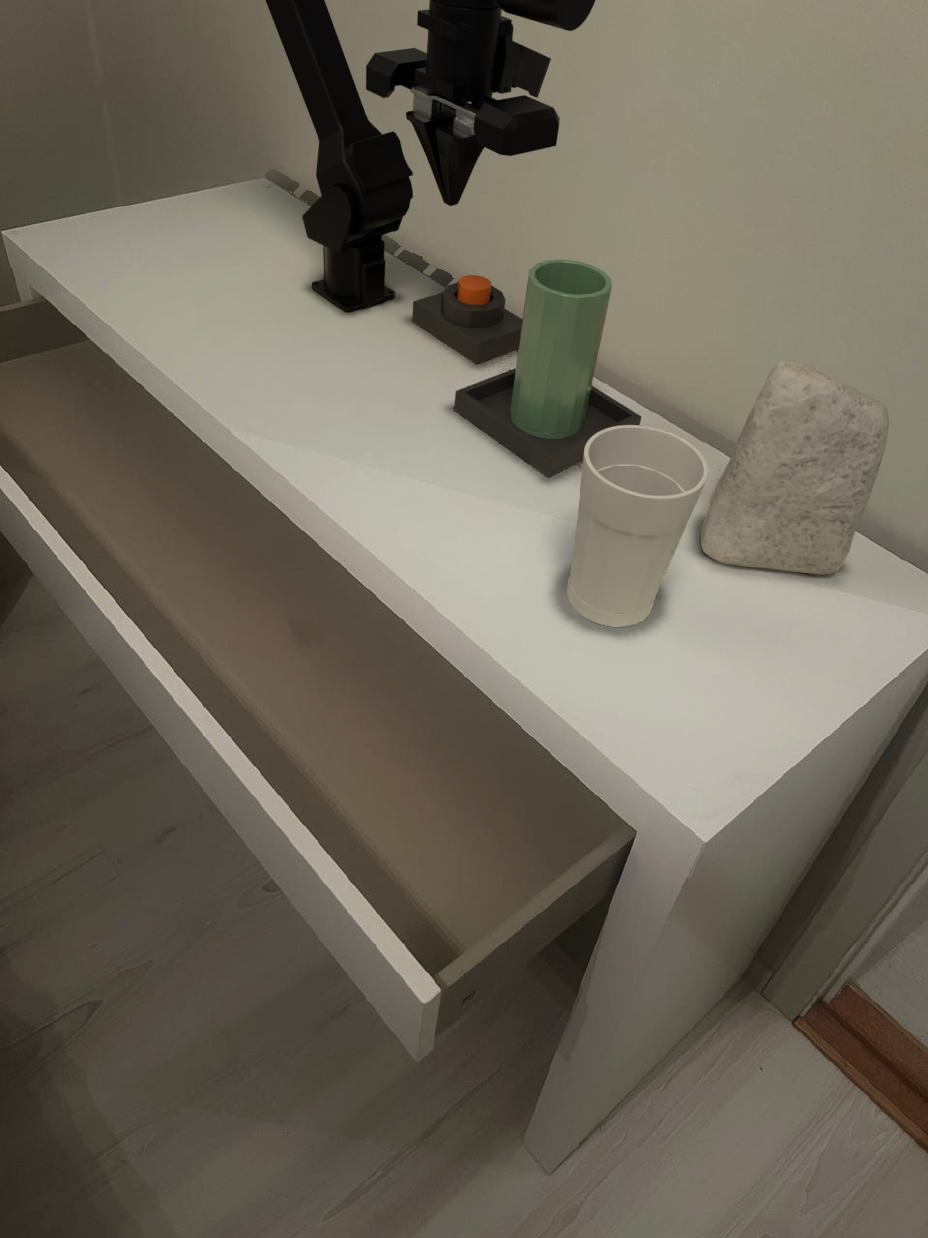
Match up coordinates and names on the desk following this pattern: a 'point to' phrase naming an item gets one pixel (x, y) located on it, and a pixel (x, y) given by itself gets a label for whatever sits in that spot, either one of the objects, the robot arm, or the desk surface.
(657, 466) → the cup
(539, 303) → the canister
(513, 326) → the push button box
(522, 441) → the drip tray
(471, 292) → the button
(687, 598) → the desk surface
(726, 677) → the desk surface
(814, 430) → the decorative stone
